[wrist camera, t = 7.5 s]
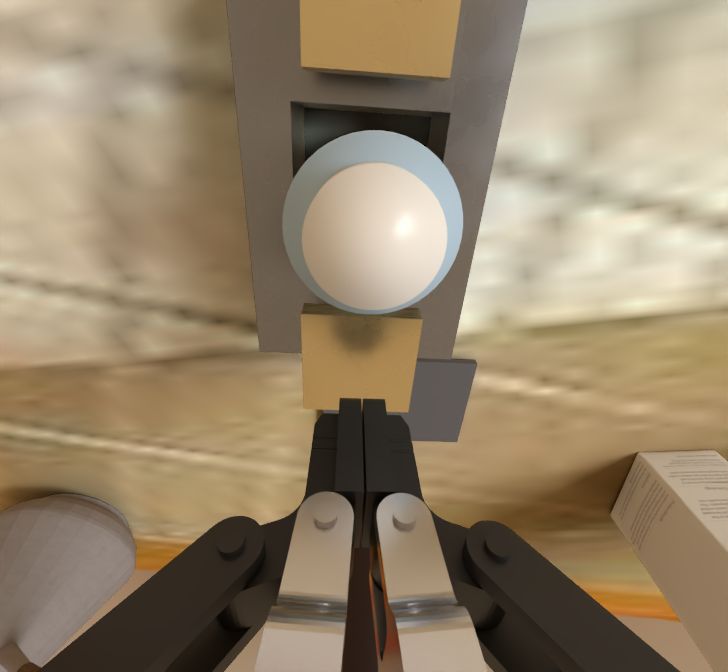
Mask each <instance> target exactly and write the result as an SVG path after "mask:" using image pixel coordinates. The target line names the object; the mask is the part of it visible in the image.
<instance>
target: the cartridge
mask: <svg viewBox="0 0 728 672" xmlns="http://www.w3.org/2000/svg"><path fill="white" fill-rule="evenodd" d="M282 230H283V238H284V244H285V248H286V252H287V254H288V257H289V259H290V262H291V264H292V266H293V268H294V270H295V271H296V273H297V275H298V276H299V277H300V279H301V280H302V282H303V283H304V284H305V285H306V286H307V287H308V288H309V289H310V290H311V291H312V292H313V293H314V294H316V295H317V296H318V297H319V298H321V299H322V300H324V301H325V302H327V303H329V304H331V305H333V306H335V307H337V308H340V309H343V310H345V311H349V312H353V313H359V314H383V313H390V312H393V311H397V310H400V309H403V308H406V307H408V306H410V305H412V304H414V303H416V302H418V301H419V300H421V299H422V298H424V297H425V296H427V295H428V294H429V293H430V292H431V291H432V290H433V289H435V288H436V286H437V285H438V284H439V283H440V282H441V281H442V280H443V278H444V277H445V276H446V274H447V273H448V271H449V270H450V268H451V266H452V264H453V262H454V260H455V258H456V255H457V253H458V250H459V247H460V243H461V239H462V231H463V210H462V203H461V199H460V195H459V192H458V189H457V186H456V184H455V182H454V179H453V178H452V176H451V174H450V173H449V171H448V169H447V168H446V166H445V165H444V164H443V163H442V161H441V160H440V159H439V158H438V157H437V156H436V155H435V154H434V153H433V152H432V151H431V150H429V149H428V148H427V147H425V146H424V145H422V144H421V143H419V142H418V141H416V140H414V139H411V138H409V137H407V136H405V135H401V134H398V133H395V132H389V131H382V130H366V131H359V132H353V133H350V134H347V135H344V136H341V137H339V138H337V139H335V140H333V141H330V142H329V143H327V144H326V145H324V146H323V147H321V148H320V149H318V150H317V151H316V152H315V153H314V154H313V155H312V156H311V157H309V158H308V159H307V161H306V162H305V163H304V164H303V166H302V167H301V168H300V169H299V171H298V173H297V174H296V176H295V177H294V179H293V181H292V183H291V186H290V188H289V190H288V193H287V196H286V200H285V203H284V210H283V218H282Z"/></svg>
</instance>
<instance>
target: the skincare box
mask: <svg viewBox="0 0 728 672" xmlns="http://www.w3.org/2000/svg"><path fill="white" fill-rule="evenodd" d="M610 516H611V517H612V519H613V520H614V522H615V523H616V525H617V526H618V528H619V529H620V531H621V532H622V534H623V535H624V537H625V538H626V540H627V541H628V543H629V544H630V546H631V547H632V549H633V550H634V552H635V553H636V555H637V556H638V558H639V559H640V561H641V562H642V564H643V565H644V567H645V568H646V570H647V571H648V573H649V574H650V576H651V577H652V579H653V580H654V582H655V583H656V585H657V586H658V588H659V589H660V591H661V592H662V594H663V595H664V597H665V598H666V600H667V601H668V603H669V604H670V606H671V607H672V609H673V610H674V612H675V614H676V615H677V617H678V618H679V620H680V621H681V623H682V624H683V626H684V627H685V628H686V630H687V631H688V633H689V635H690V636H691V637H692V639H693V641H694V642H695V644H696V645H697V647H698V648H699V650H700V651H701V653H702V654H703V656H704V657H705V659H706V660H707V662H708V663H709V665H710V666H711V668H712V670H713V671H714V672H728V461H726V460H725V459H724V458H723V457H722V456H721V455H720V454H719V453H718V452H716V451H715V450H690V451H663V452H639V453H637V455H636V458H635V460H634V462H633V465H632V467H631V469H630V471H629V474H628V476H627V478H626V480H625V483H624V485H623V487H622V489H621V492H620V494H619V496H618V499H617V501H616V503H615V505H614V507H613V510H612V512H611V514H610Z"/></svg>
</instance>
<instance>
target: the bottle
mask: <svg viewBox="0 0 728 672" xmlns="http://www.w3.org/2000/svg"><path fill="white" fill-rule="evenodd" d="M369 574H370V548H363V547H362V542H361V532H360V544H359V548H354V558H353V571H352V575H351V578H350V580H349V592H348V605H347V617H346V630H345V642H344V655H343V667H342V672H378V659H377V649H376V639H375V630H374V620H373V611H372V601H371V591H370V582H369Z"/></svg>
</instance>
